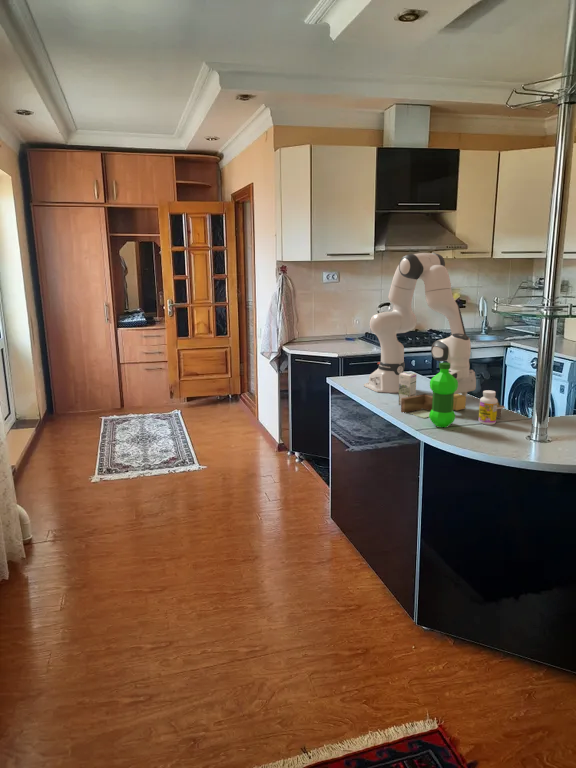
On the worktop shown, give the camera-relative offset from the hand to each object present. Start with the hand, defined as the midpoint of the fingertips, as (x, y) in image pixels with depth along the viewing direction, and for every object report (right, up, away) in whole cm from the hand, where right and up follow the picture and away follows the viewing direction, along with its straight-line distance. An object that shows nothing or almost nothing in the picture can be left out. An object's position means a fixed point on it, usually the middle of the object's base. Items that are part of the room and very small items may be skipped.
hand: (456, 403), depth 242 cm
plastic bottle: (-12, -8, -21) cm, 25 cm away
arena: (-14, -4, -5) cm, 16 cm away
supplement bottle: (+7, -7, -18) cm, 21 cm away
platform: (+11, -6, -11) cm, 17 cm away
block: (0, -2, 0) cm, 2 cm away
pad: (-16, -5, -6) cm, 17 cm away
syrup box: (-19, -1, +9) cm, 21 cm away
